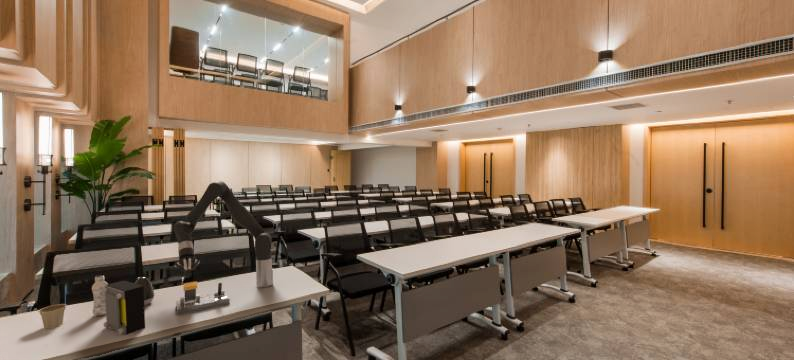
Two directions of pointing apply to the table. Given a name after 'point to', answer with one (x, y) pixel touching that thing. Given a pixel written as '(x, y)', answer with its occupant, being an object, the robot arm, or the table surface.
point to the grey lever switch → (203, 302)
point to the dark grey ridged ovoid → (146, 289)
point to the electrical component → (124, 307)
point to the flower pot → (52, 315)
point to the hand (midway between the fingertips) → (188, 276)
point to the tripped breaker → (190, 291)
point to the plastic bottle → (99, 296)
